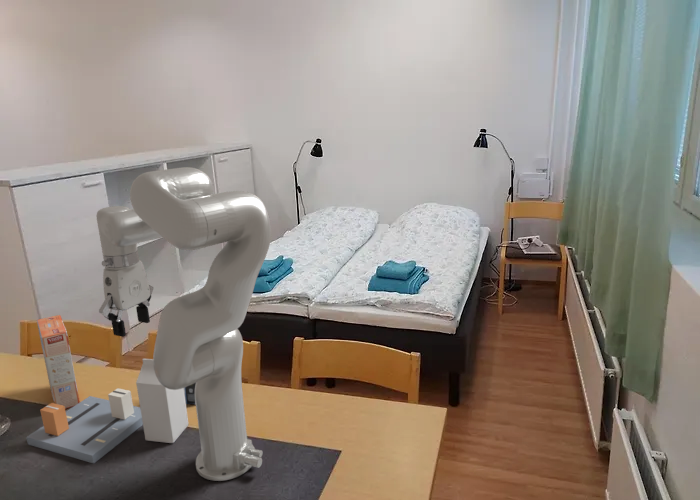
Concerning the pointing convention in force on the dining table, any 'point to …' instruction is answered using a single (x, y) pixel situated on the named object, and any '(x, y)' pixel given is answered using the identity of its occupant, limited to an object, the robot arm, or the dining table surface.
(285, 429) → the dining table surface
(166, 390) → the milk carton
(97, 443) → the fader console
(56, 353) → the cracker box
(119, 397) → the cream knob
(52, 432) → the orange fader knob
